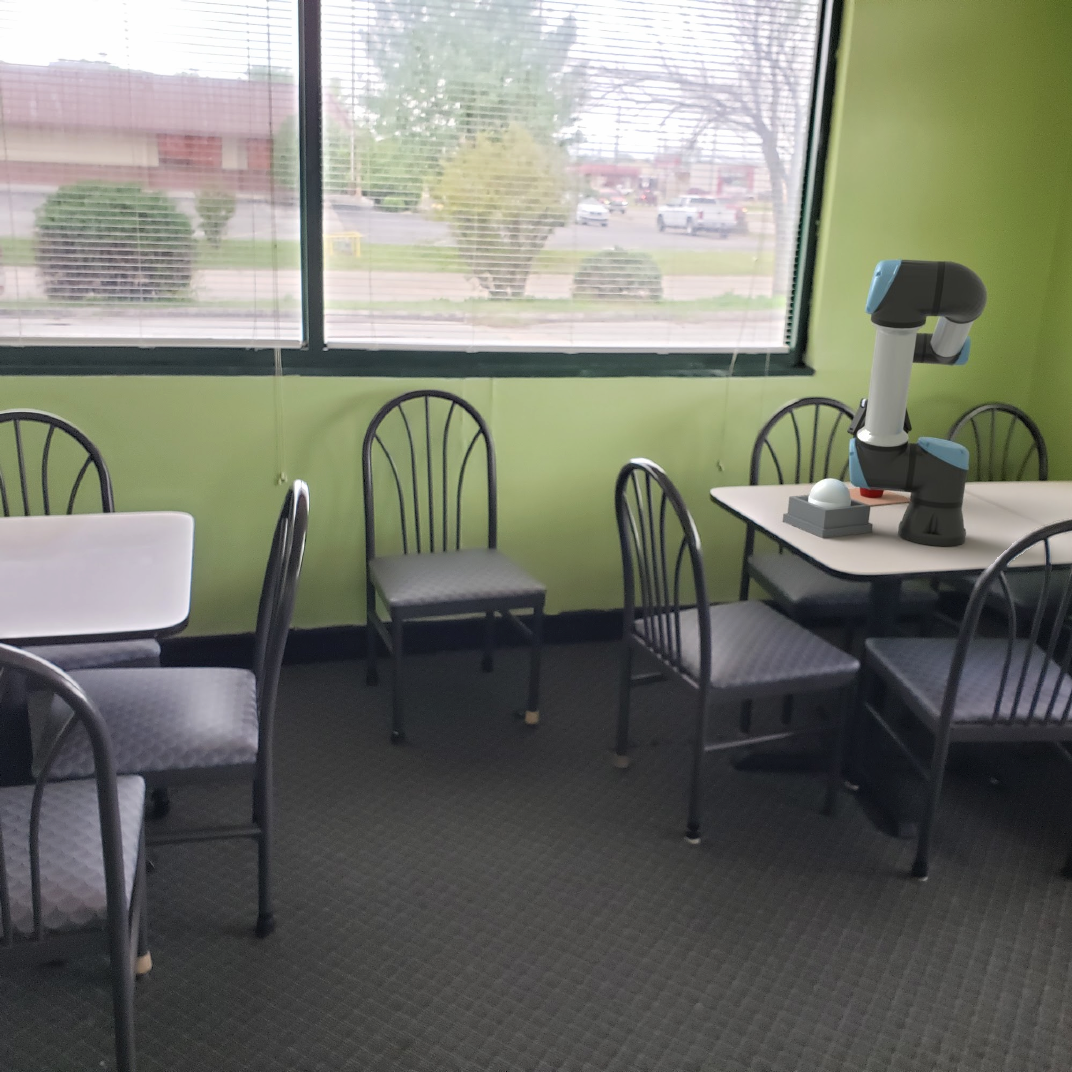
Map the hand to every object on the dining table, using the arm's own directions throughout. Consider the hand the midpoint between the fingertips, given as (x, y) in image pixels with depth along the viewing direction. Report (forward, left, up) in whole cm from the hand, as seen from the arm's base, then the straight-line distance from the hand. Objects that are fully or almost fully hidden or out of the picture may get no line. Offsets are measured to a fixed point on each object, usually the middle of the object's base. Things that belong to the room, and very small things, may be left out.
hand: (876, 458), depth 278 cm
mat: (0, 0, -11) cm, 11 cm away
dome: (-20, +32, -8) cm, 38 cm away
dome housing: (-20, +32, -11) cm, 39 cm away
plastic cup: (0, 0, -11) cm, 11 cm away
